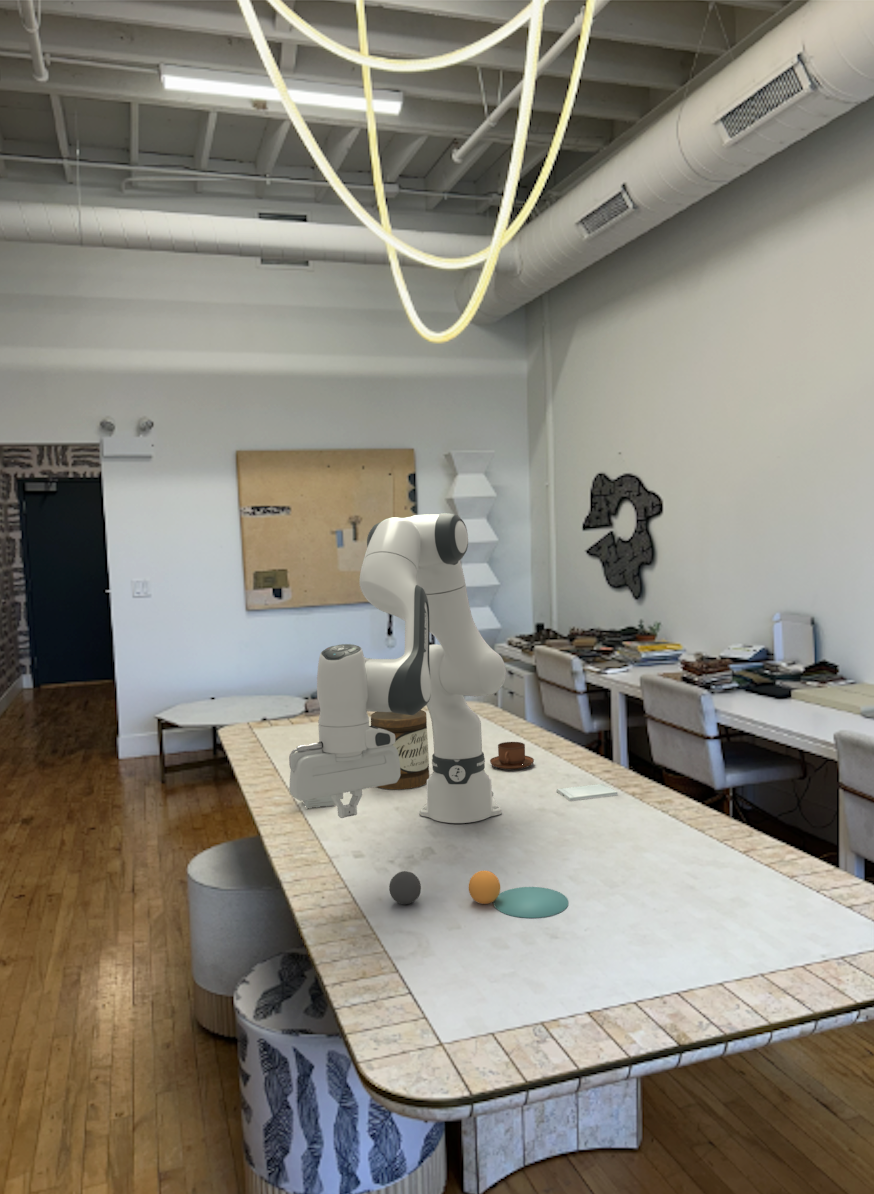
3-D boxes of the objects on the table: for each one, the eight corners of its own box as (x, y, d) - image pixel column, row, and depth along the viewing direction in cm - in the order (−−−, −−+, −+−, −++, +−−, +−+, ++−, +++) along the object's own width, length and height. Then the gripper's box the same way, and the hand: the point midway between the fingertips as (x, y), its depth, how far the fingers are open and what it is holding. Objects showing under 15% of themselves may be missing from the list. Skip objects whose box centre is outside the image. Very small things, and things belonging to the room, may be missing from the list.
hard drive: (602, 782, 230) (556, 788, 227) (617, 791, 222) (569, 797, 219) (603, 789, 230) (556, 794, 227) (617, 798, 222) (569, 803, 219)
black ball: (392, 896, 166) (390, 866, 166) (423, 896, 165) (421, 866, 165) (387, 909, 160) (386, 878, 160) (419, 909, 160) (418, 878, 159)
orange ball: (469, 896, 165) (468, 865, 164) (501, 896, 164) (500, 865, 164) (468, 909, 159) (467, 877, 159) (500, 909, 159) (499, 877, 158)
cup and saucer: (535, 772, 247) (535, 749, 246) (491, 773, 247) (490, 750, 247) (532, 760, 259) (531, 739, 258) (489, 762, 259) (488, 740, 259)
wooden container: (405, 793, 231) (401, 706, 229) (361, 785, 240) (357, 701, 238) (440, 779, 243) (437, 696, 241) (397, 771, 252) (394, 692, 250)
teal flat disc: (494, 888, 168) (494, 887, 168) (566, 887, 167) (566, 886, 167) (492, 918, 155) (492, 917, 155) (570, 918, 154) (570, 916, 154)
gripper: (296, 750, 153) (299, 831, 154) (403, 733, 164) (405, 809, 165) (281, 743, 159) (285, 822, 160) (386, 727, 169) (389, 801, 170)
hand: (347, 816), depth 162 cm, fingers closed
